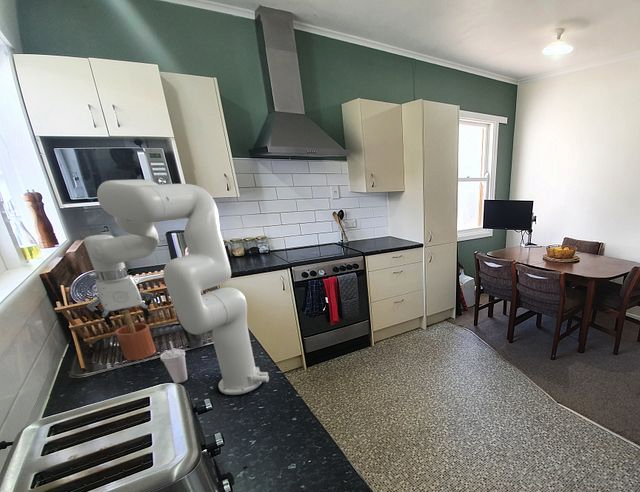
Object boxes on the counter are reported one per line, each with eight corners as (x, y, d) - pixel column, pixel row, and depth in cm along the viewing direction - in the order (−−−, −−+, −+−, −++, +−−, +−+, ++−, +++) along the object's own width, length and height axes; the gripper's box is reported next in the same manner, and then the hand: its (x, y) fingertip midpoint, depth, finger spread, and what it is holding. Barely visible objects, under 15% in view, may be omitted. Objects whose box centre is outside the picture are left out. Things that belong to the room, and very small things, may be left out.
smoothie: (180, 386, 107) (168, 347, 101) (163, 383, 108) (150, 344, 103) (197, 375, 113) (186, 337, 107) (180, 372, 114) (168, 335, 108)
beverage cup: (211, 343, 133) (198, 294, 124) (191, 351, 127) (176, 300, 119) (201, 338, 136) (188, 290, 128) (181, 345, 130) (166, 295, 122)
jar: (162, 348, 128) (154, 323, 124) (144, 360, 120) (134, 335, 116) (137, 347, 128) (128, 323, 124) (117, 359, 120) (107, 334, 116)
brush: (151, 348, 126) (138, 308, 119) (141, 355, 122) (126, 314, 115) (138, 348, 126) (123, 307, 119) (127, 355, 122) (111, 313, 115)
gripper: (76, 282, 104) (97, 333, 111) (147, 272, 115) (162, 318, 122) (75, 276, 109) (95, 325, 116) (143, 267, 120) (157, 312, 127)
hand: (129, 322), depth 119 cm, fingers open, 9 cm apart
